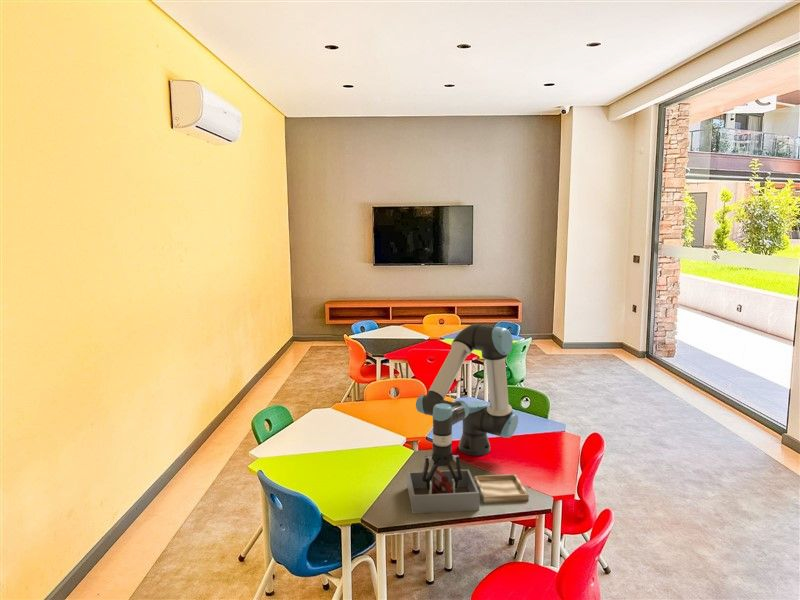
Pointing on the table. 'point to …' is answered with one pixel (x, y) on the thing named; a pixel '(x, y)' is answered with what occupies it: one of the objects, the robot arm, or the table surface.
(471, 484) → the bin
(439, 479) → the toy fire truck
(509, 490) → the tray
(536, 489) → the table surface
